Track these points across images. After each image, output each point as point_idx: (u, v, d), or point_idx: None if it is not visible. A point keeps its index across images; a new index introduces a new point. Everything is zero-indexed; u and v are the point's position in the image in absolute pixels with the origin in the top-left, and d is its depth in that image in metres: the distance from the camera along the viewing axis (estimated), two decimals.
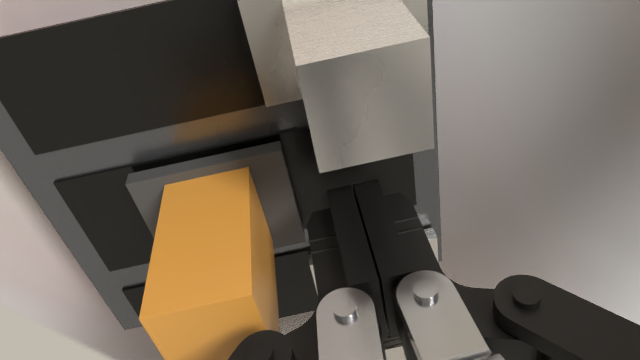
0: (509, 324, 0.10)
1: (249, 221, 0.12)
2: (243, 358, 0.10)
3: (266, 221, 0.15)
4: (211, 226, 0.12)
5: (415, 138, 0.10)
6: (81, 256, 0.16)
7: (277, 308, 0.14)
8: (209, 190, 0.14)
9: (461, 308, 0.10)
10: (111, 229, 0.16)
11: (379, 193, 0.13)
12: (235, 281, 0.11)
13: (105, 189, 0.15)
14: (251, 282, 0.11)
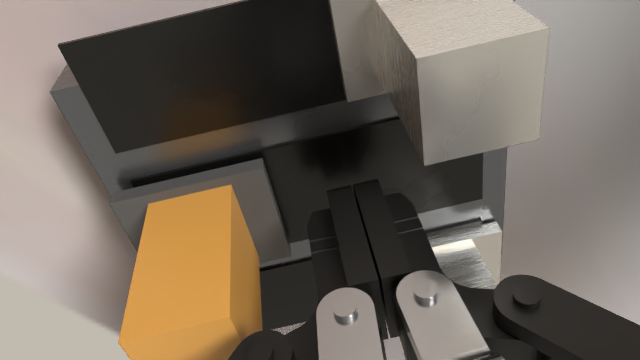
0: (509, 324, 0.10)
1: (230, 241, 0.12)
2: (243, 358, 0.10)
3: (251, 237, 0.15)
4: (192, 245, 0.13)
5: (521, 129, 0.10)
6: None
7: (261, 325, 0.14)
8: (191, 209, 0.14)
9: (461, 308, 0.10)
10: None
11: (379, 193, 0.13)
12: (214, 303, 0.11)
13: None
14: (229, 304, 0.11)
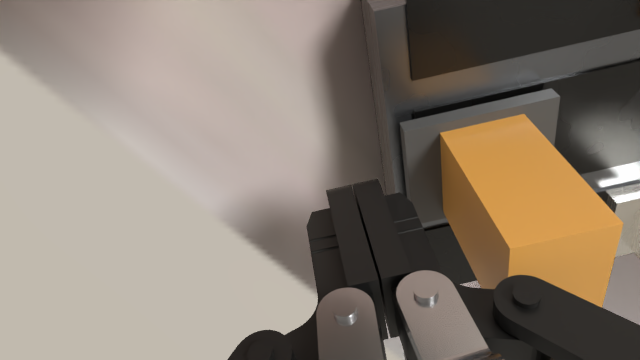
0: (509, 324, 0.10)
1: (565, 160, 0.12)
2: (243, 358, 0.10)
3: None
4: (525, 166, 0.12)
5: None
6: (402, 193, 0.16)
7: None
8: (495, 135, 0.14)
9: (461, 308, 0.10)
10: None
11: (379, 193, 0.13)
12: (594, 212, 0.11)
13: None
14: (612, 213, 0.11)
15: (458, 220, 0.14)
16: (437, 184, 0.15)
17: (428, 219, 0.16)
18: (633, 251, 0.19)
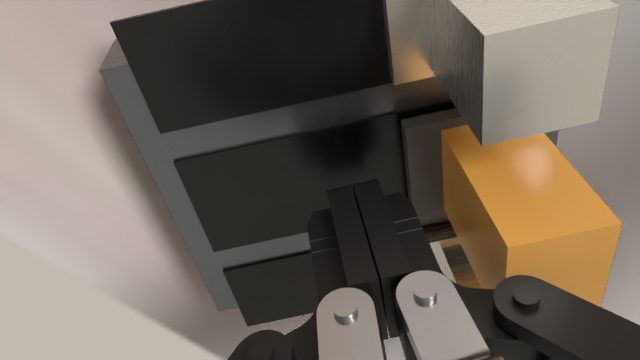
0: (509, 324, 0.10)
1: (566, 159, 0.12)
2: (243, 358, 0.10)
3: None
4: (525, 164, 0.12)
5: (582, 111, 0.10)
6: (188, 236, 0.17)
7: None
8: None
9: (460, 308, 0.10)
10: (222, 209, 0.16)
11: (379, 193, 0.13)
12: (593, 211, 0.11)
13: (222, 168, 0.15)
14: (611, 212, 0.11)
15: (458, 218, 0.14)
16: (438, 181, 0.15)
17: (429, 217, 0.16)
18: None
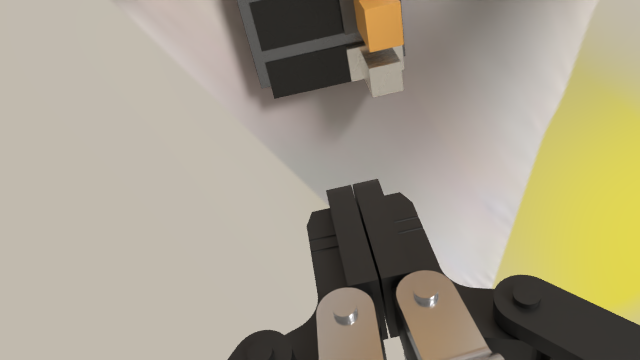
0: (509, 324, 0.10)
1: None
2: (243, 358, 0.10)
3: None
4: None
5: None
6: (251, 42, 0.39)
7: None
8: None
9: (461, 308, 0.10)
10: (266, 28, 0.38)
11: (379, 193, 0.13)
12: (393, 0, 0.33)
13: (268, 7, 0.37)
14: (398, 0, 0.33)
15: (359, 23, 0.37)
16: (353, 14, 0.38)
17: (351, 33, 0.39)
18: (363, 77, 0.41)
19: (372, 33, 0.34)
